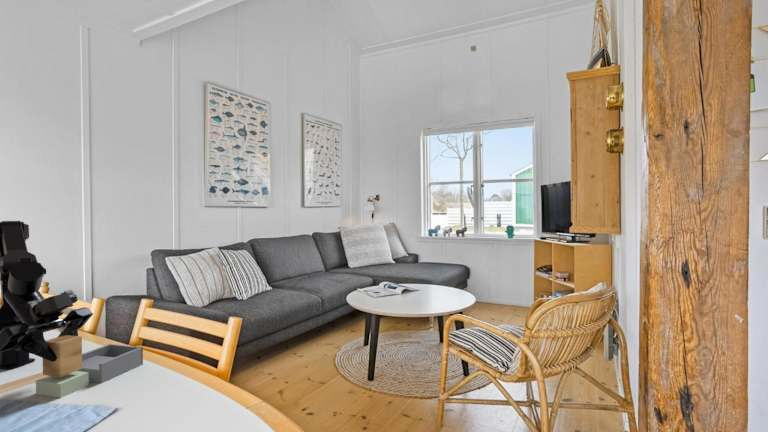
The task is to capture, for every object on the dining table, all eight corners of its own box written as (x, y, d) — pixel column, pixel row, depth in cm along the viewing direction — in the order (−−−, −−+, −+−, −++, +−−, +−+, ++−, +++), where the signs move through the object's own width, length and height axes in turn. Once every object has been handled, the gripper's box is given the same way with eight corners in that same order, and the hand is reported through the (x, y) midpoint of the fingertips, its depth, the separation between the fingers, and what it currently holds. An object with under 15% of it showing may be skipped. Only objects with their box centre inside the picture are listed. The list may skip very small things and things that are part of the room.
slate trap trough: (65, 378, 99) (65, 359, 99) (109, 360, 111) (109, 343, 110) (102, 382, 96) (101, 364, 96) (142, 364, 108) (142, 347, 108)
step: (35, 394, 90) (35, 380, 90) (64, 382, 97) (64, 369, 97) (60, 397, 89) (60, 384, 89) (88, 385, 95) (88, 372, 95)
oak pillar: (42, 374, 91) (42, 341, 91) (65, 366, 96) (64, 334, 96) (60, 377, 90) (60, 343, 90) (82, 368, 95) (81, 336, 94)
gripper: (1, 289, 84) (43, 346, 82) (86, 275, 102) (123, 321, 100) (-26, 324, 86) (14, 381, 84) (62, 304, 104) (97, 350, 102)
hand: (67, 356), depth 92 cm, fingers open, 5 cm apart
